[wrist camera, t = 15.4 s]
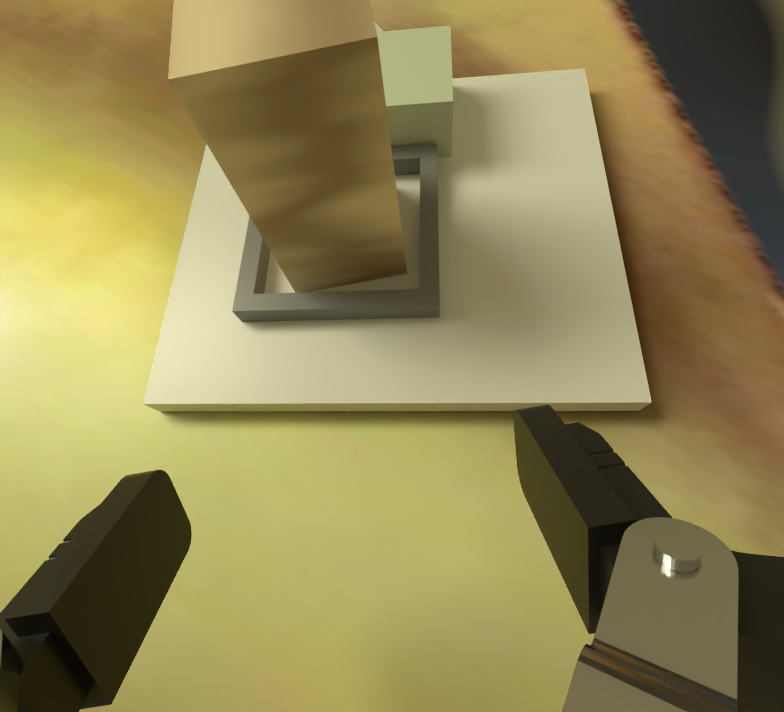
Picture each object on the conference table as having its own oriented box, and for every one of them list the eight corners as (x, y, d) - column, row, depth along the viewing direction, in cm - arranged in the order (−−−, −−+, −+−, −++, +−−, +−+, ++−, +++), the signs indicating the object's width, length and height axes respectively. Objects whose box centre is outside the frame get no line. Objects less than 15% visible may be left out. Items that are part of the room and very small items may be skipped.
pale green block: (255, 168, 23) (229, 117, 20) (267, 99, 25) (246, 44, 22) (451, 156, 22) (452, 101, 19) (449, 85, 24) (450, 25, 21)
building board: (159, 411, 19) (127, 396, 17) (227, 115, 26) (209, 80, 24) (638, 410, 17) (664, 394, 15) (577, 89, 24) (590, 48, 22)
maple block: (296, 294, 20) (168, 79, 10) (289, 206, 22) (177, -41, 12) (407, 273, 19) (377, 36, 10) (390, 186, 21) (353, -79, 12)
